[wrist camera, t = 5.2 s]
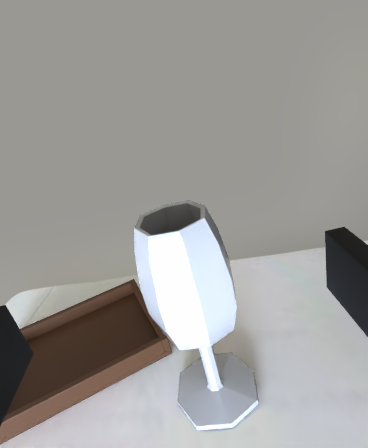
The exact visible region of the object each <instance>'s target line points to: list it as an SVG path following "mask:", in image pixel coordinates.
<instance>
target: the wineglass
mask: <svg viewBox="0 0 368 448" xmlns="http://www.w3.org/2000/svg"><path fill="white" fill-rule="evenodd" d="M134 231H135V233H134V234H135V236H134V238H135V259H136V265H137V271H138V278H139V283H140V289H141V292H142V295H143V298H144V301H145V304H146V307H147V309H148V312H149V314H150V316H151V317H152V318H153V320H154V321H155V322H156V324H157V325H158V326H159V328H160V329H161V330H162V332H163V333H164V334H165V335H166V336H167V338H168V339H169V340H170V341H171V342H172V343H173V344H174V345H175V346H176V347H177V348H178V349H179V350H189V349H198V348H199V351H200V355H201V358H199V359H198V360H197V361H195V362H194V363H193V364H191V365H190V366H189V367H187V368H186V369H185V370H183V371H182V372H181V373H180V380H179V393H178V405H179V406H180V407H181V409H182V410H183V411H184V413H185V414H186V415H187V417H188V418H189V419H190V421H191V422H192V423H193V425H194V426H195V427H196V429H197V430H210V429H223V428H233V427H234V426H235V425H236V424H238V423H239V422H240V421H241V420H242V419H243V418H244V417H245V416H246V415H247V414H248V413H250V412H251V411H252V410H253V409H254V408H255V407H256V406H257V405H258V403H259V401H258V395H257V389H256V383H255V376H254V372H253V370H252V369H250V368H249V367H248V366H247V365H246V364H245V363H243V362H242V361H241V360H240V359H239V358H238V357H236V356H235V355H234V354H233V353H232V352H231V353H222V354H214V351H213V347H212V346H213V345H214V344H215V343H217V342H218V341H219V340H221V339H222V338H223V337H225V336H226V335H227V334H229V333H230V332H231V331H233V330H234V325H235V317H236V309H237V304H236V297H235V289H234V282H233V277H232V272H231V267H230V262H229V258H228V255H227V252H226V250H225V247H224V244H223V242H222V239H221V236H220V234H219V231H218V228H217V227H216V224H215V223H214V221H213V219H212V217H211V216H210V214H209V212H208V210H207V208H206V207H205V206H204V205H202V204H198V203H196V202H193V201H190V200H188V201H182V202H176V203H171V204H166V205H162V206H160V207H158V208H155V209H153V210H151V211H149V212H147V213H145V214H143V215H140V217H139V219H138V221H137V224H136V226H135V228H134Z"/></svg>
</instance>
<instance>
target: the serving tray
mask: <svg viewBox="0 0 368 448" xmlns="http://www.w3.org/2000/svg"><path fill="white" fill-rule="evenodd" d="M20 331H21V332H22V334H23V336H24V337H25V339H26V341H27V343H28V344H29V346H30V348H31V349H32V351H33V353H34V354H33V357H32V359H31V361H30V363H29V365H28V368H27V370H26V372H25V374H24V376H23V378H22V381H21V383H20V385H19V387H18V389H17V392H16V394H15V396H14V398H13V400H12V402H11V405H10V407H9V409H8V411H7V413H6V416H5V418H4V420H3V422H2V424H1V426H0V444H1V443H3V442H5V441H7V440H9V439H11V438H13V437H15V436H16V435H18V434H20V433H22V432H24V431H26V430H28V429H30V428H31V427H33V426H35V425H37V424H39V423H41V422H43V421H45V420H47V419H48V418H50V417H52V416H54V415H56V414H58V413H60V412H62V411H63V410H65V409H67V408H69V407H71V406H73V405H75V404H77V403H79V402H80V401H82V400H84V399H86V398H88V397H90V396H92V395H94V394H95V393H97V392H99V391H101V390H103V389H105V388H107V387H109V386H111V385H112V384H114V383H116V382H118V381H120V380H122V379H124V378H126V377H127V376H129V375H131V374H133V373H135V372H137V371H139V370H141V369H143V368H144V367H146V366H148V365H150V364H152V363H154V362H156V361H158V360H159V359H161V358H163V357H165V356H167V355H169V354H171V353H172V351H171V348H170V345H169V342H168V339H167V337H166V335H165V334H164V333H163V332H162V330H161V329H160V328H159V326H158V325H157V324H156V322H155V321H154V320H153V318H152V317H151V316H150V314H149V312H148V309H147V307H146V304H145V301H144V298H143V295H142V293H141V291H140V289H139V287H138V286H137V284H136V282H135V280H134V279H133V280H130V281H128V282H126V283H124V284H121V285H119V286H117V287H115V288H112V289H110V290H108V291H106V292H103V293H101V294H99V295H96V296H94V297H92V298H90V299H87V300H85V301H83V302H81V303H78V304H76V305H74V306H71V307H69V308H67V309H65V310H62V311H60V312H58V313H56V314H53V315H51V316H49V317H46V318H44V319H42V320H40V321H37V322H35V323H33V324H31V325H28V326H26V327H24V328H21V329H20Z"/></svg>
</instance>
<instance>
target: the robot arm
mask: <svg viewBox="0 0 368 448" xmlns="http://www.w3.org/2000/svg"><path fill="white" fill-rule="evenodd" d="M325 242H326V274H327V288H328V289H329V290H330V291H331V293H332V294H333V295H334V296H335V298H336V299H337V300H338V301H339V302H340V304H341V305H342V306H343V307H344V309H345V310H346V311H347V312H348V313H349V315H350V316H351V317H352V318H353V319H354V321H355V322H356V323H357V324H358V326H359V327H360V328H361V329H362V330H363V332H364V333H365V334H366V335H367V337H368V245H367V244H366V243H364V242H363V241H362V240H360V239H359V238H358V237H357V236H355V235H354V234H353V233H351V232H350V231H349V230H348V229H346V228H345V227H342V228H337V229H333V230H328V231H325ZM33 354H34V353H33V351H32V349H31V348H30V346H29V344H28V343H27V341H26V339H25V337H24V336H23V334H22V332H21V331H20V329H19V327H18V326H17V324H16V322H15V321H14V319H13V317H12V315H11V314H10V312H9V310H8V309H7V307H6V305H4V306H0V426H1V424H2V422H3V420H4V418H5V416H6V413H7V411H8V409H9V407H10V405H11V402H12V400H13V398H14V396H15V394H16V392H17V389H18V387H19V385H20V383H21V381H22V378H23V376H24V374H25V372H26V370H27V368H28V365H29V363H30V361H31V359H32V357H33Z"/></svg>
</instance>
